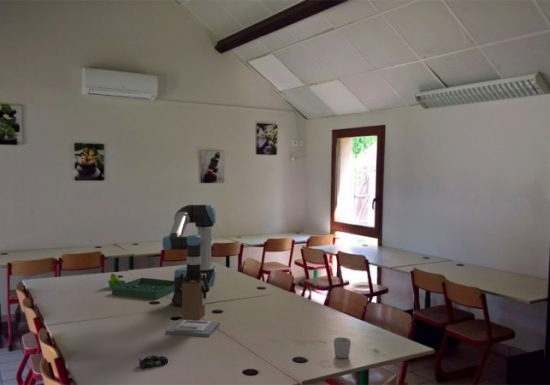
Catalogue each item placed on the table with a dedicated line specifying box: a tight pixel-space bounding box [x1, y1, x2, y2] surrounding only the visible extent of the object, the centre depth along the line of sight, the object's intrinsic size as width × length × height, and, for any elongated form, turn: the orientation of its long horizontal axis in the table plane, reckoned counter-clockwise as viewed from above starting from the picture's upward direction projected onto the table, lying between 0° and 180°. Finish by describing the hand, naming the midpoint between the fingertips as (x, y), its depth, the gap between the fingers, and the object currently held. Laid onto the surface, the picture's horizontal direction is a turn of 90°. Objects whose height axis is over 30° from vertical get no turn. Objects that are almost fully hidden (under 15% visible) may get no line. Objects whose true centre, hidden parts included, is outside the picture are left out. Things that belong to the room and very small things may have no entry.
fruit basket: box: [107, 273, 126, 289], centre depth 359 cm, size 11×9×11 cm
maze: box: [111, 277, 174, 301], centre depth 351 cm, size 35×35×6 cm
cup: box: [333, 336, 352, 359], centre depth 234 cm, size 11×8×8 cm
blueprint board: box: [165, 319, 221, 337], centre depth 271 cm, size 24×20×2 cm
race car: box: [138, 354, 173, 369], centre depth 222 cm, size 15×7×4 cm, turn 127°
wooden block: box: [181, 281, 206, 321], centre depth 270 cm, size 10×10×20 cm
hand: (193, 304), depth 270 cm, fingers closed on wooden block, 10 cm apart
